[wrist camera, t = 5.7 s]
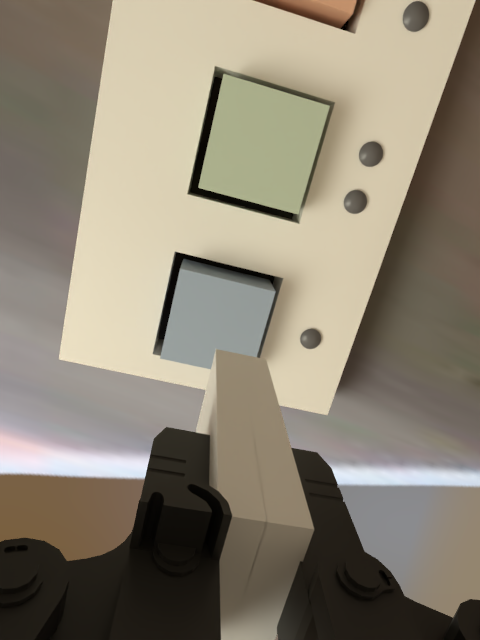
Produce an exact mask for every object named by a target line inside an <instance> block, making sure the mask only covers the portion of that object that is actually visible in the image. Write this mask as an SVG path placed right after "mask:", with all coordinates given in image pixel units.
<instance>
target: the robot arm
mask: <svg viewBox="0 0 480 640" xmlns="http://www.w3.org/2000/svg"><path fill="white" fill-rule="evenodd" d="M337 485H338V484H337V482H336V479H335V477H334V474H333V472H332V469H331V467H330V466H329V465H328V464H327V463H326V462H325V461H324V460H323V459H322V457H321V456H320V455H319V454H318V453H317V452H311V451H306V450H300V449H294V448H291V445H290V442H289V438H288V435H287V431H286V428H285V424H284V421H283V417H282V414H281V410H280V406H279V403H278V399H277V396H276V392H275V389H274V385H273V382H272V378H271V375H270V371H269V368H268V364H267V361H266V359H262V358H258V357H253V356H248V355H243V354H238V353H233V352H228V351H223V350H218V349H216V351H215V355H214V359H213V363H212V367H211V371H210V375H209V379H208V384H207V388H206V392H205V396H204V400H203V404H202V408H201V412H200V416H199V421H198V425H197V429H196V432H190V431H185V430H179V429H174V428H168V427H166V428H165V429H164V430H163V431H162V432H161V433H160V434H158V435H157V436H156V437H155V438H154V441H153V445H152V450H151V454H150V459H149V463H148V468H147V472H146V477H145V482H144V486H143V490H142V495H141V499H140V500H139V504H138V509H137V514H136V518H135V523H134V527H133V530H132V532H131V534H130V535H129V536H128V538H127V539H126V540H125V541H124V542H123V543H122V544H121V545H119V546H118V547H117V548H115V549H114V550H112V551H110V552H107V553H105V554H103V555H100V556H95V557H91V558H87V559H80V560H73V561H66V559H65V558H64V556H63V555H62V553H61V552H60V550H59V549H57V548H55V547H54V546H52V545H50V544H49V543H47V542H45V541H41V540H35V539H29V538H20V539H11V540H4V541H2V542H0V640H275V638H276V635H277V634H278V640H480V600H472V599H470V600H468V601H465V602H463V603H461V604H460V606H459V608H458V610H457V612H456V613H455V615H454V617H453V618H452V617H450V616H448V615H445V614H443V613H440V612H438V611H436V610H433V609H431V608H429V607H426V606H424V605H422V604H419V603H417V602H415V601H413V600H411V599H409V598H407V597H405V596H404V594H403V592H402V590H401V588H400V586H399V584H398V582H397V581H396V579H395V578H394V576H393V575H392V573H391V572H390V571H389V570H388V569H387V568H386V567H385V566H384V565H383V564H382V563H381V562H379V561H378V560H377V559H376V558H374V557H372V556H371V555H369V554H367V553H366V552H364V550H363V547H362V544H361V542H360V539H359V537H358V534H357V532H356V529H355V527H354V524H353V522H352V519H351V517H350V514H349V512H348V509H347V507H346V504H345V502H343V497H342V494H341V492H340V489H339V488H337Z"/></svg>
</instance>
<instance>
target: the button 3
mask: <svg viewBox="0 0 480 640" xmlns="http://www.w3.org/2000/svg"><path fill="white" fill-rule="evenodd" d="M253 1H256V2H259V3H263V4H266V5H269V6H272V7H275V8H278V9H281V10H284V11H287V12H290V13H293V14H296V15H299V16H302V17H305V18H308V19H311V20H314V21H317V22H320V23H323V24H326V25H330V26H333V27H336V28H339V29H340V28H341V27H342V26H343V25H344V24H345V22H346V21H347V20H348V19H349V18H350V17H351V16H352V14H353V12H354V8H355V5H356V1H357V0H253Z"/></svg>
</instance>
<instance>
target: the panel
mask: <svg viewBox="0 0 480 640" xmlns="http://www.w3.org/2000/svg"><path fill="white" fill-rule="evenodd" d="M475 1H476V0H357V1H356V5H355V8H354V12H353V14H352V16H351V17H350V18H349V22H348V25H347V29H346V31H345V30H342V29H339V28H336V27H333V26H330V25H326V24H323V23H320V22H317V21H314V20H311V19H308V18H305V17H302V16H299V15H296V14H293V13H290V12H287V11H284V10H281V9H278V8H275V7H272V6H269V5H266V4H263V3H259V2H256V1H253V0H113V3H112V10H111V17H110V23H109V30H108V37H107V43H106V50H105V56H104V63H103V70H102V76H101V83H100V90H99V96H98V103H97V109H96V116H95V123H94V129H93V136H92V143H91V149H90V156H89V162H88V169H87V176H86V182H85V189H84V196H83V202H82V209H81V215H80V222H79V229H78V235H77V242H76V249H75V255H74V262H73V268H72V275H71V282H70V288H69V295H68V302H67V308H66V315H65V321H64V328H63V335H62V341H61V348H60V355H59V359H60V360H65V361H69V362H74V363H79V364H84V365H89V366H93V367H98V368H103V369H108V370H113V371H118V372H122V373H127V374H132V375H137V376H142V377H146V378H151V379H156V380H161V381H166V382H170V383H175V384H180V385H185V386H190V387H195V388H199V389H204V390H206V388H207V384H208V379H209V375H210V371H211V369H207V368H202V367H197V366H193V365H188V364H183V363H179V362H174V361H169V360H165V359H160V356H161V352H162V347H163V343H164V340H162V339H158V335H159V331H160V326H161V321H162V317H163V312H164V308H165V303H166V298H167V294H168V289H169V285H170V280H171V276H172V271H173V266H174V262H175V257H176V253H177V252H179V253H183V254H187V255H191V256H195V257H199V258H203V259H207V260H211V261H216V262H220V263H224V264H228V265H232V266H236V267H240V268H244V269H248V270H252V271H256V272H260V273H264V274H268V275H272V276H275V278H274V282H273V285H272V286H273V287H274V289H275V291H276V292H275V296H274V299H273V303H272V306H271V310H270V313H269V316H268V320H267V323H266V327H265V330H264V334H263V337H262V340H261V344H260V347H259V351H258V354H257V357H258V358H262V359H266V361H267V364H268V368H269V371H270V375H271V378H272V382H273V385H274V389H275V392H276V396H277V399H278V403H279V405H281V406H286V407H291V408H296V409H300V410H305V411H310V412H315V413H320V414H324V415H328V412H329V409H330V406H331V403H332V401H333V398H334V395H335V392H336V389H337V387H338V384H339V381H340V378H341V375H342V373H343V370H344V367H345V364H346V361H347V359H348V356H349V353H350V350H351V347H352V345H353V342H354V339H355V336H356V333H357V331H358V328H359V325H360V322H361V320H362V317H363V314H364V311H365V308H366V306H367V303H368V300H369V297H370V294H371V292H372V289H373V286H374V283H375V280H376V278H377V275H378V272H379V269H380V266H381V264H382V261H383V258H384V255H385V252H386V250H387V247H388V244H389V241H390V238H391V236H392V233H393V230H394V227H395V224H396V222H397V219H398V216H399V213H400V210H401V208H402V205H403V202H404V199H405V196H406V194H407V191H408V188H409V185H410V182H411V180H412V177H413V174H414V171H415V168H416V166H417V163H418V160H419V157H420V154H421V152H422V149H423V146H424V143H425V140H426V138H427V135H428V132H429V129H430V126H431V124H432V121H433V118H434V115H435V112H436V110H437V107H438V104H439V101H440V98H441V96H442V93H443V90H444V87H445V84H446V82H447V79H448V76H449V73H450V70H451V68H452V65H453V62H454V59H455V56H456V54H457V51H458V48H459V45H460V43H461V40H462V37H463V34H464V31H465V29H466V26H467V23H468V20H469V17H470V15H471V12H472V9H473V6H474V3H475ZM223 74H226V75H230V76H233V77H236V78H240V79H243V80H246V81H250V82H253V83H256V84H259V85H263V86H266V87H269V88H273V89H276V90H279V91H282V92H286V93H289V94H292V95H296V96H299V97H302V98H306V99H309V100H312V101H315V102H319V103H322V104H325V105H329V106H330V108H329V111H328V114H327V118H326V121H325V125H324V128H323V131H322V135H321V138H320V142H319V145H318V149H317V152H316V155H315V159H314V162H313V166H312V169H311V173H310V176H309V179H308V183H307V186H306V190H305V193H304V197H303V200H302V203H301V207H300V210H299V214H294V213H293V216H292V219H289V218H285V217H281V216H277V215H274V214H270V213H266V212H262V211H259V210H255V209H251V208H247V207H243V206H240V205H236V204H232V203H228V202H225V201H221V200H217V199H213V198H210V197H206V196H202V195H198V194H194V193H191V192H190V189H191V184H192V179H193V175H194V170H195V166H196V161H197V157H198V152H199V147H200V143H201V138H202V134H203V129H204V125H205V120H206V115H207V111H208V106H209V102H210V97H211V93H212V88H213V83H214V79H215V77H218V78H221V79H222V78H223Z"/></svg>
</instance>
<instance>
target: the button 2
mask: <svg viewBox="0 0 480 640" xmlns="http://www.w3.org/2000/svg"><path fill="white" fill-rule="evenodd" d="M329 108H330V106H329V105H325V104H322V103H319V102H315V101H312V100H309V99H306V98H302V97H299V96H296V95H292V94H289V93H286V92H282V91H279V90H276V89H273V88H269V87H266V86H263V85H259V84H256V83H253V82H250V81H246V80H243V79H240V78H236V77H233V76H230V75H226V74H223V78H222V83H221V87H220V92H219V96H218V101H217V105H216V110H215V114H214V119H213V123H212V128H211V132H210V137H209V141H208V146H207V150H206V155H205V159H204V164H203V168H202V173H201V177H200V182H199V186H198V188H201V189H204V190H208V191H212V192H216V193H219V194H223V195H227V196H231V197H234V198H238V199H242V200H246V201H249V202H253V203H257V204H261V205H264V206H268V207H272V208H276V209H279V210H283V211H287V212H291V213H294V214H299V210H300V207H301V203H302V200H303V197H304V193H305V190H306V186H307V183H308V179H309V176H310V173H311V169H312V166H313V162H314V159H315V155H316V152H317V149H318V145H319V142H320V138H321V135H322V131H323V128H324V125H325V121H326V118H327V114H328V111H329Z"/></svg>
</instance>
